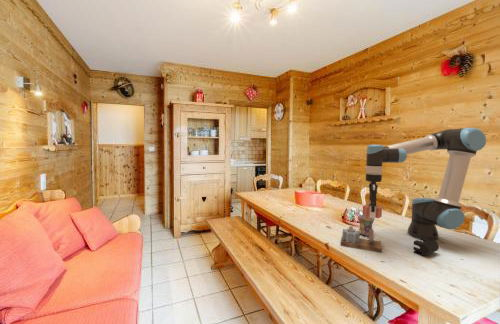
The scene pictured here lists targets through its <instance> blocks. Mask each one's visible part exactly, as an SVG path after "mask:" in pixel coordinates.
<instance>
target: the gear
mask: <svg viewBox="0 0 500 324" xmlns="http://www.w3.org/2000/svg"><path fill="white" fill-rule="evenodd" d="M360 235H361V234H360V232H359V230H356V229H355V228H353V233H351V232H349V227H348V228H347V227H346V228H343V229H342V235H341V238H342V240H345V241H346V242H352V243H355V242H358V243H359V242H360V238H361V236H360Z"/></svg>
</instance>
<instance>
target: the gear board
mask: <svg viewBox="0 0 500 324" xmlns="http://www.w3.org/2000/svg"><path fill="white" fill-rule="evenodd" d="M348 228H349V232H351V233H353V229H354V226H352V225H350V226H348ZM374 233H375V231H374V229H373V228H372V229H369V236H368V238H361V237H360V242H359V243H358V242H355V243H352V242H346V241H345V240H342V237H341V239H340V246H342V247H347V248H354V249H360V250H364V251H365V250H366V251H371V252H378V253H383V247H382V241H380V240H375V239H374Z"/></svg>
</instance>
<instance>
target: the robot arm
mask: <svg viewBox="0 0 500 324" xmlns="http://www.w3.org/2000/svg"><path fill="white" fill-rule="evenodd" d="M486 143H487V137H486V134H485V133H484V131H482V130H481V129H479V128H476V127H464V128H462V127H461V128H450V129H449V128H448V129H444V130H441V131H436V132H433V133H430V134H426V135H425V136H424V137H421V138H416V139H411V140H408V141H407V140H406V141H403V142H398V143H394V144H389V145H386V146H384V145H383V144H368V145H367V147H366V160H365V161H366V163H365V164H366V165H365V166H364V169H365V181H367V182H369V183H368V188H369V189H368V191H369V197H368V200H369V201H368V205H369V206H370V218H375V217H376V206H377V193H378V183H380V182H382V178H383V175H382V174H383V163H396V164H398V163H404V162H405V161H406V159H407V155H411V154H416V153H419V152H424V151H436V150H437V151H438V150H446V153H447V154H448V155H449V157H448V160H447V163H446V168H445V172H444V174H443V179H442V182H441V185H440V186H441V187H440V190H439V193H438V196H437V198H431V197H415V198H412V204H411V222H410V223H409V226H408V228H407V235H409V236H410V237H413V238H416V239H417V240H419V239H421V238H424V239H428V240H432V239H433V240H435V241H437V240H439V232H438V229H437V226H438V227H440V228H443V229H447V230H456V229H457V228H460V227H461V226H462V225H463V223H464V222H465V218H466V216H465V214H464V212H463V211H462V205H461V204H460V198H461V194H462V190H463V187H464V184H465V180H466V176H467V173H468V169H469V166H470V162H471V159H472V158H473V157H476V156H477V152H479V151H480V150H483V148H484V147H485V146H486ZM375 219H376V218H375Z"/></svg>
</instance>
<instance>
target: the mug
mask: <svg viewBox="0 0 500 324" xmlns="http://www.w3.org/2000/svg"><path fill="white" fill-rule="evenodd" d="M375 219H376V218H370V217H365V215H363V214H359V215H358V216H357V221H358V223H359V229H358V231H359V232H360V235H361V236H365V237H369V229H373V224H374V221H375Z"/></svg>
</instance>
